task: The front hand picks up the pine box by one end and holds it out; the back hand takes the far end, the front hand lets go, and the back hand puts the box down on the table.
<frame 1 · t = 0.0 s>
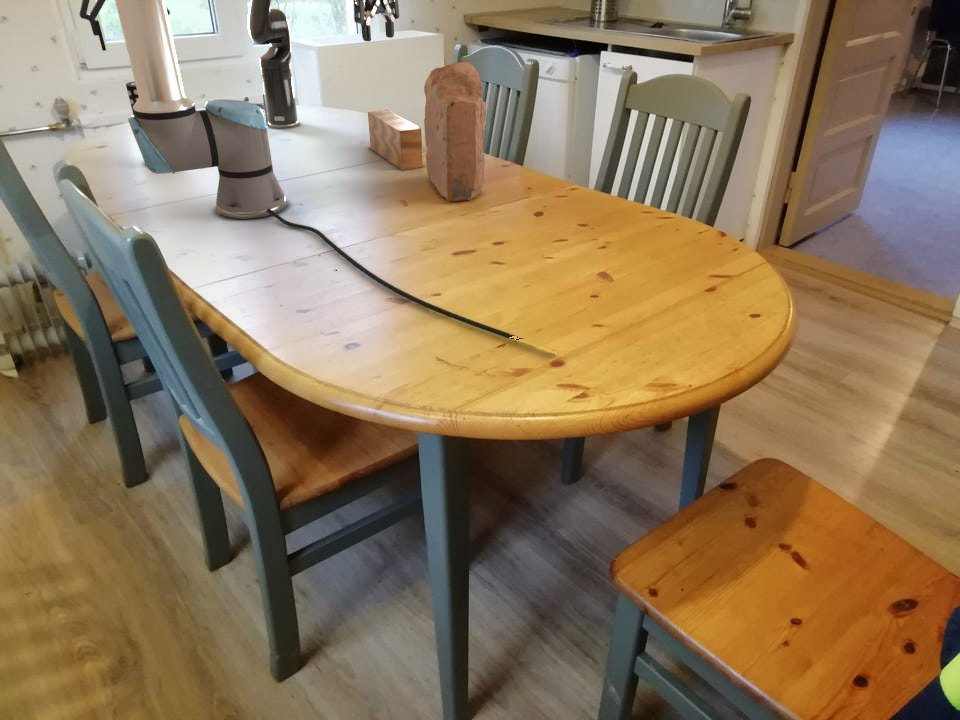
front hand: (133, 48, 174), 28 cm above the table, tool pointing down, fingers open, 13 cm apart
back hand: (378, 39, 183), 29 cm above the table, tool pointing down, fingers open, 8 cm apart
stone: (456, 188, 171), on the table
box: (395, 157, 193), on the table
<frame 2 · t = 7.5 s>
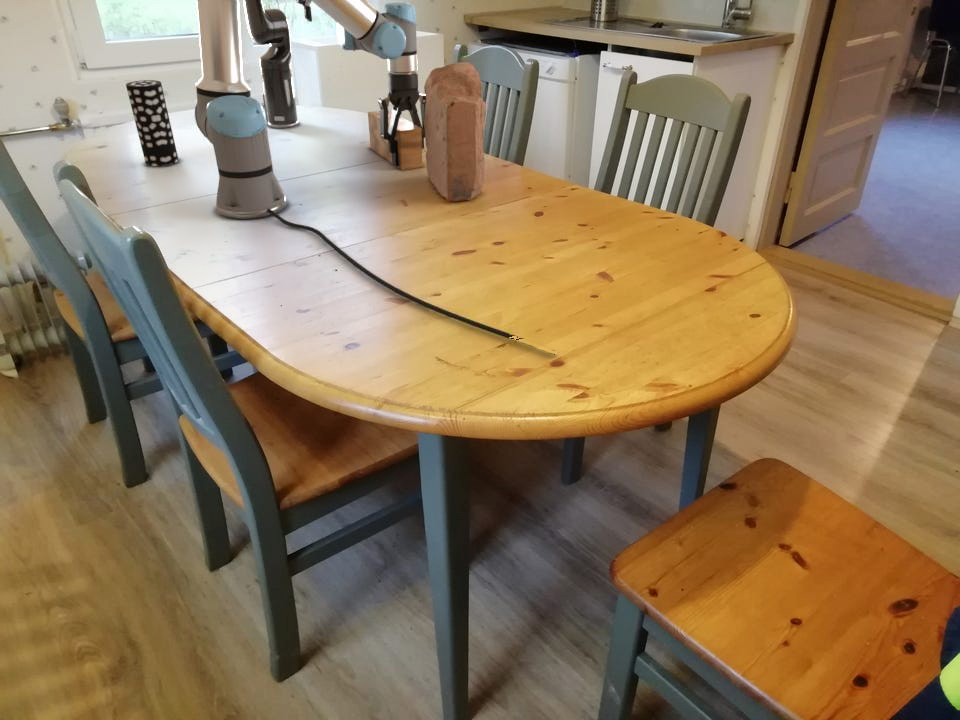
front hand: (407, 162, 187), 1 cm above the table, tool pointing down, fingers closed on box, 6 cm apart
back hand: (324, 20, 191), 32 cm above the table, tool pointing down, fingers open, 8 cm apart
box: (395, 157, 193), on the table, touching front hand
everything else where it was.
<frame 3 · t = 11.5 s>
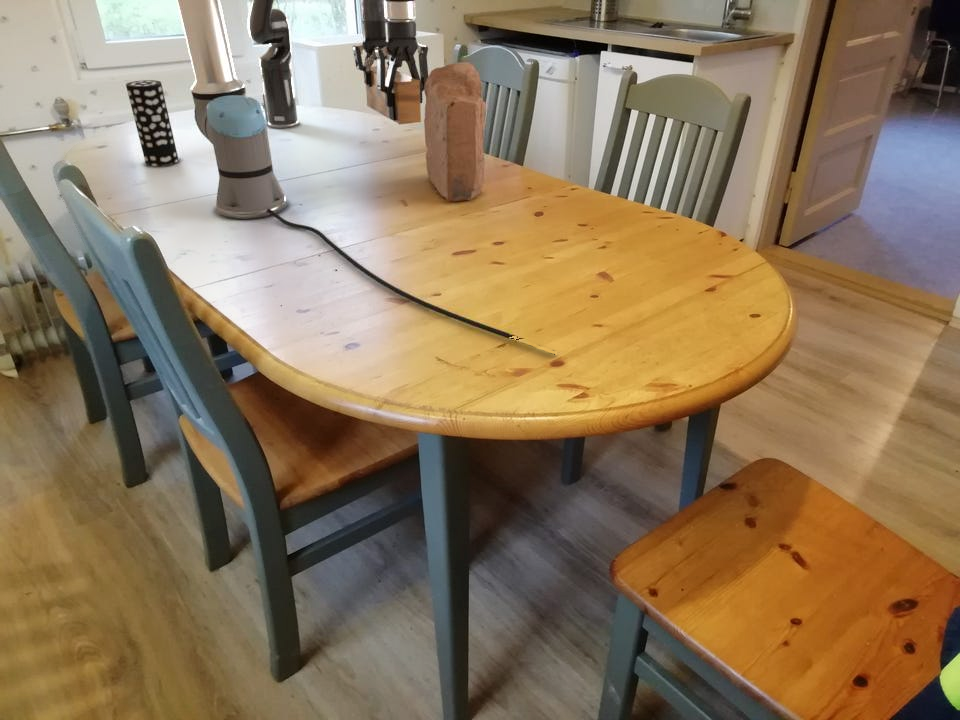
front hand: (404, 117, 180), 12 cm above the table, tool pointing down, fingers closed on box, 6 cm apart
back hand: (380, 85, 189), 18 cm above the table, tool pointing down, fingers closed on box, 6 cm apart
box: (393, 113, 186), point 12 cm above the table, touching front hand, back hand
everything else where it was.
when the front hand's fingers open (12 cm above the table, at t = 12.6 s): box stays where it is, held by the back hand.
when the back hand's fingers open (7 cm above the table, at t = 19.9 s): box drops 1 cm, on the table.
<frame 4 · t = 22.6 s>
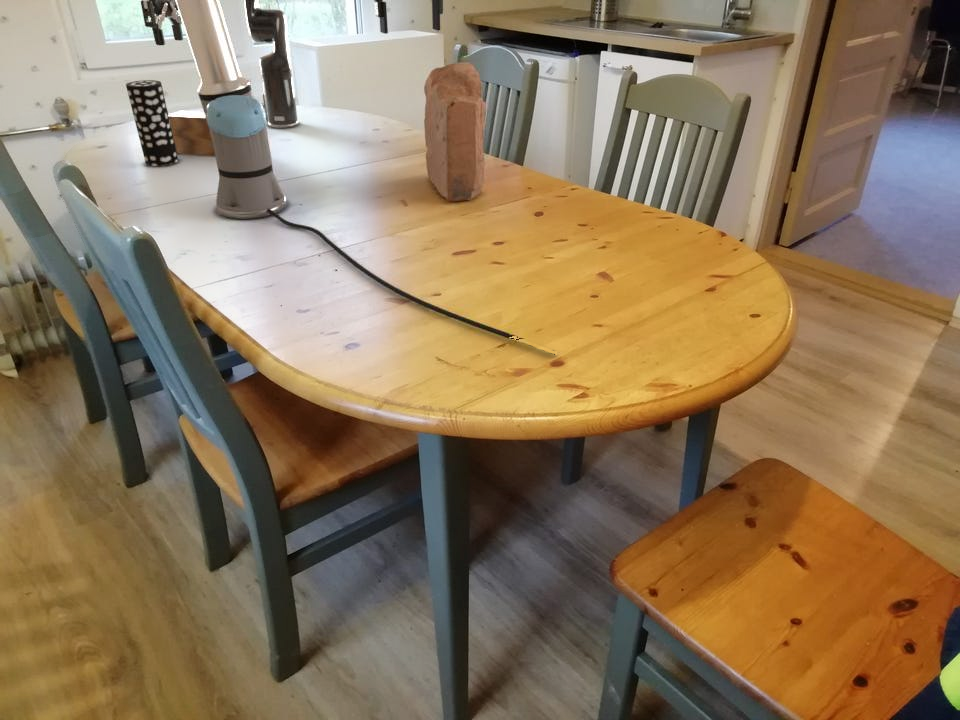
front hand: (410, 31, 164), 34 cm above the table, tool pointing down, fingers open, 13 cm apart
back hand: (170, 42, 180), 28 cm above the table, tool pointing down, fingers open, 8 cm apart
box: (218, 152, 194), on the table
everything else where it was.
at the end: box inside the target area (7.9 cm from its centre), on the table; the front hand is holding nothing; the back hand is holding nothing; box at rest at the end (0.0 cm/s) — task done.
